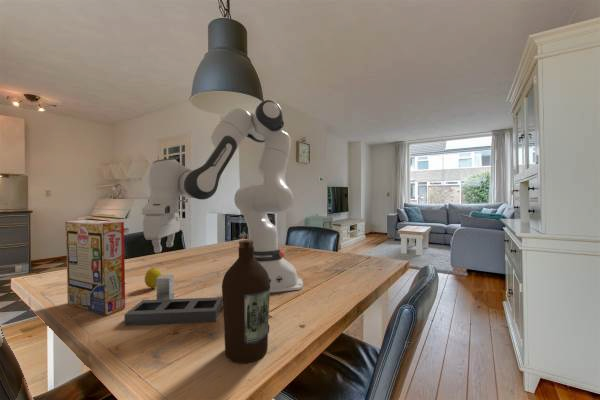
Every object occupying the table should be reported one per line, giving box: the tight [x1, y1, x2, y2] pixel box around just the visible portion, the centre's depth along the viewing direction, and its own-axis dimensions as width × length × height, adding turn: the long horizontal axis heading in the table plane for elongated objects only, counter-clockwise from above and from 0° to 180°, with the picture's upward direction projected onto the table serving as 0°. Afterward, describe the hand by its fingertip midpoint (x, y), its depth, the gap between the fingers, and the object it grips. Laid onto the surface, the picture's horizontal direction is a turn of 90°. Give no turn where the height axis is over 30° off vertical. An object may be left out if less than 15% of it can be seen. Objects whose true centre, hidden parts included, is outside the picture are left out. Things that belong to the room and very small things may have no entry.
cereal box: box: [65, 219, 126, 316], centre depth 85 cm, size 20×6×27 cm, turn 66°
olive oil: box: [221, 239, 271, 364], centre depth 61 cm, size 11×11×25 cm
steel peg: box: [155, 274, 175, 300], centre depth 90 cm, size 4×4×8 cm
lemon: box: [144, 267, 162, 289], centre depth 101 cm, size 6×6×8 cm
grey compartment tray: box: [124, 296, 223, 327], centre depth 79 cm, size 24×10×3 cm, turn 95°
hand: (164, 249), depth 89 cm, fingers open, 8 cm apart
